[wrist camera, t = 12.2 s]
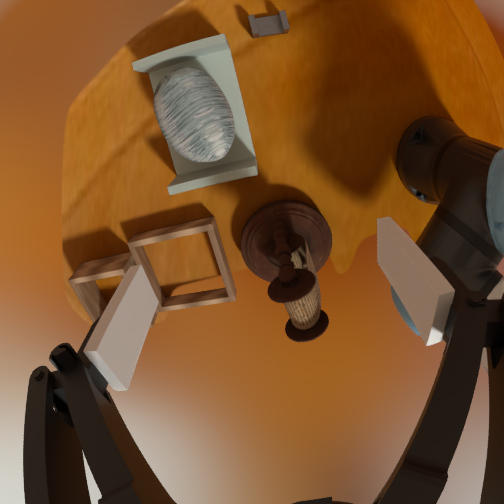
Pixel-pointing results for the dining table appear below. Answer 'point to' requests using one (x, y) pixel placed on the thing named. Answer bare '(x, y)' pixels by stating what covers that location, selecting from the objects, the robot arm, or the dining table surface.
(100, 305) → the frame
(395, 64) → the dining table surface
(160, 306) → the frame
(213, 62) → the holder
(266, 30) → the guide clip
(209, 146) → the grey oval rock
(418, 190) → the robot arm
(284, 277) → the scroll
